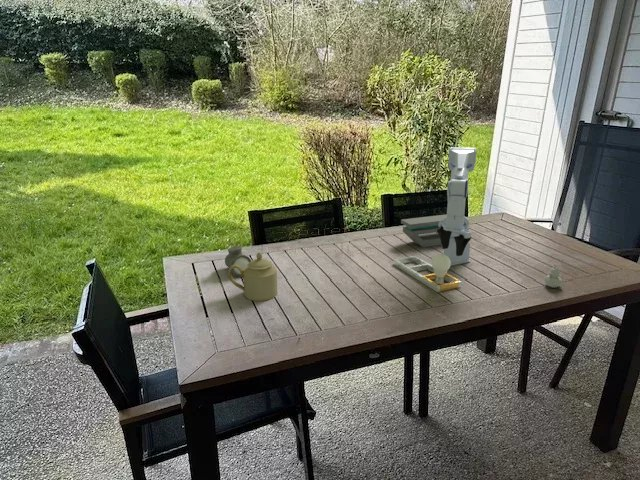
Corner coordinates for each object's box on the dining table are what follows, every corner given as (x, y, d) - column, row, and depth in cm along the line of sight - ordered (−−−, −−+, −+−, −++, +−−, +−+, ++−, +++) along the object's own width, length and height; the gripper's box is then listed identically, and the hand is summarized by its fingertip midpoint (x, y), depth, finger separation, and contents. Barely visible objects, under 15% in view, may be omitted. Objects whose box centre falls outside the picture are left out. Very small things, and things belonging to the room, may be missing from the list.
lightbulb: (449, 288, 151) (452, 258, 148) (430, 287, 153) (432, 257, 149) (448, 281, 157) (450, 251, 154) (429, 279, 159) (432, 250, 155)
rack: (414, 260, 176) (415, 255, 176) (460, 287, 152) (461, 281, 152) (393, 264, 173) (393, 259, 172) (437, 292, 149) (437, 286, 148)
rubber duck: (539, 285, 153) (543, 264, 150) (550, 281, 156) (554, 260, 154) (555, 291, 148) (559, 269, 146) (566, 286, 152) (570, 264, 149)
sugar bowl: (241, 307, 140) (238, 263, 135) (228, 294, 149) (225, 252, 144) (283, 296, 148) (281, 253, 143) (269, 284, 157) (266, 244, 152)
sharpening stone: (448, 236, 204) (450, 213, 200) (458, 242, 197) (461, 218, 193) (399, 243, 196) (401, 219, 193) (408, 249, 189) (410, 224, 186)
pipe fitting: (254, 273, 165) (249, 247, 162) (234, 279, 161) (228, 253, 158) (243, 266, 175) (238, 241, 172) (224, 272, 171) (218, 247, 169)
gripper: (432, 210, 156) (429, 247, 160) (460, 221, 143) (456, 260, 148) (448, 208, 159) (445, 244, 163) (477, 218, 146) (473, 257, 150)
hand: (452, 251), depth 156 cm, fingers open, 7 cm apart
